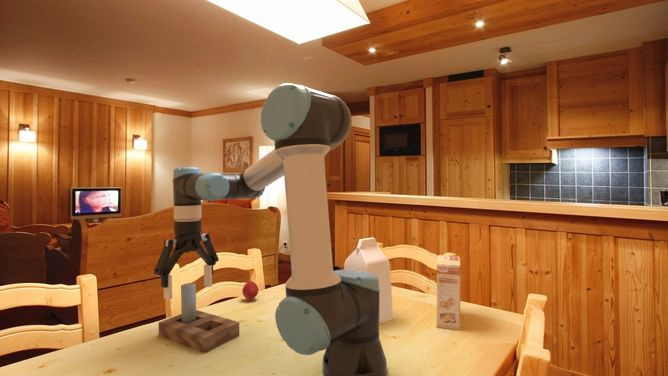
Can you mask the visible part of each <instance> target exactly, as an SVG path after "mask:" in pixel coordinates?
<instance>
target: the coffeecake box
mask: <svg viewBox="0 0 668 376" xmlns="http://www.w3.org/2000/svg"><path fill="white" fill-rule="evenodd" d="M461 272H462V271H461V257H460V255H446V254H444V255H443V254H439V255H438V257H437V263H436V328H443V329H449V330H453V331H454V330H455V331H461Z"/></svg>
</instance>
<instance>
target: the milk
mask: <svg viewBox="0 0 668 376" xmlns="http://www.w3.org/2000/svg"><path fill="white" fill-rule="evenodd" d="M343 270H352V271H361V272H367V273H370V274H373V275H375V276H376V277H377V278H378V280H379V290H380V293H379V325H380V324H383V323H386V322H389V321H391V320H394V311H393V293H392V292H393V291H392V290H393V289H392V275H391V263H390V261H389V258H388V257H387V256H386V255H385V253H384V252H383V251H382V249H381V248H380V247H379V246H378V243H377V240H376V237H368V238H360V239H359V240H358V243H357V246H356V248H355V249H354V250H353V251H352V252H351V254H350V255H348V257H346V259H345V261H344V267H343Z"/></svg>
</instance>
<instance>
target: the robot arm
mask: <svg viewBox="0 0 668 376" xmlns="http://www.w3.org/2000/svg"><path fill="white" fill-rule="evenodd" d="M351 114H352V113H351V111H350V108H349V107H348V105H347V104H346V102H344V101H343V100H342V99H341V98H340V97H338V96H336V95H334V94H329V93H325V92H322V91H319V90H316V89H313V88H309V87H307V86H305V85H303V84H295V83H288V82H286V83H282V84H280V85H277V86H276V87H274V89H273V90H271V92H269V94H267V98H266V99H265V100H264V103H263V105H262V108H261V113H260V126H261V129H262V131H263V133H264V134H265V136H266V137H267V138H268V139H270V140H272V141H273V142H274V149H272V150H271V151H269V152H268V153H267V154H264V155H263V157H261V158H259V159H258V160H257V161H256V162H254V163H253V164H251V165H250V166H249V167H247V168H246V169H244V170H243V171H242V172H240V173H219V172H204V173H203V172H202V171H201V169H200V168H199V167H193V166H191V167H190V166H183V167H180V166H179V167H178V166H177V167H175V168H174V169H173V175H172V176H173V177H172V192H173V194H172V195H173V196H172V197H173V198H172V199H173V220H174V222H173V233H174V239H170V238H164V240H163V241H164V242H163V248H162V251H161V253H160V255H159V258H158V260H157V263H156V265H155V268H154V270H153V274H154V275H157V276H160V286H161V288H163V299H166V300H173V275H171V272H172V271H173V269H174V267H175V266H176V264H177V263H178V261H179V260H180V258H181V256H183V255H184V254H186V253H190V252H196V254H197V255H199V257H200V258H201V259H202V261H203V262H204V263H205V264H204V265H203V286H204V287H208V288H211V287H213V275H214V266H215V265H216V264H217V262H219V256H218V254H217V253H216V250H215V248H214V245H213V243H212V241H211V234H210V233H202V229H203V227H202V223H203V222H202V220H201V218H202V217H203V215H202V214H203V213H202V201H207V202H214V201H215V202H216V201H219V200H220V201H221V200H238V199H239V200H240V199H241V200H242V199H243V200H244V199H245V200H246V199H248V200H249V199H251V200H252V199H254V198H255V199H257V198H259V197H261V196H263V193H264V192H265V189H266V188H267V186H269V185H271V184H272V183H274V182H276V181H278V180H279V179H280V178H282V177H284V188H285V189H284V190H285V201H286V214H287V217H286V218H287V225H288V230H287V231H288V241H289V242H288V243H289V254H290V268H291V276H290V277H289V278H288V280H287V281H286V282H285V285H284V286H285V297H284V298H283V299H281V301H280V302H279V303H278V306H276V310H275V314H274V315H275V319H274V320H275V323H276V324H275V325H276V328H277V331H278V333H279V335H280V337H281V338H282V341H284V342H285V344H286V345H287V347H289V349H290V350H292V351H294V352H295V353H297V354H299V355H303V356H311V355H314V354H316V353H318V352H320V351H321V352H322V351H324V354H323V358H322V373H323V375H325V376H386V375H387V371H388V370H387V363H388V362H387V358H386V355H385V352H384V348H383V344H382V342H381V339H380V324H379V293H380V290H379V280H378V278H377V277H376V276H375V275H373V274H370V273H367V272H361V271H352V270H344V269H341V270H336V271H333V266H334V265H333V253H332V243H331V242H332V241H331V240H332V239H331V230H330V229H331V228H330V217H329V204H328V202H329V201H328V192H327V180H326V171H325V170H326V168H325V157H326V155H327V154H328V153H329V152H331V151H333V150H334V149H336V148H337V147H339V146H340V145H341V144H342V143H344V141H345V140H346V139H347V137H348V135H349V134H350V133H351V128H352V115H351ZM201 242H202V244H201Z"/></svg>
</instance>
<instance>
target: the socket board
mask: <svg viewBox="0 0 668 376" xmlns="http://www.w3.org/2000/svg"><path fill="white" fill-rule="evenodd" d="M158 337H161V338H163V339H166V340H169V341H171V342H175V343H176V344H180V345H182V346H185V347H186V348H187V347H188V348H191V349H192V350H193V349H194V350H195V351H199V352H200V353H204V354H206V353H208V352H210V351H211V350H212V351H213V350H214V349H217V348H218V347H220V346H222V345H224V344H226V343H228V342H231V341H232V340H234V339H236V338H239V337H240V321H236V320H233V319H230V318H228V317H227V318H225V317H222V316H218V315H215V314H212V313H208V312H205V311H201V310H197V309H196V321H194V322H191V323H189V324H184V323H182V317H181V313H180V314H178V315H174V316H172V317H169V318H166V319H163V320H161V321H158Z"/></svg>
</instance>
